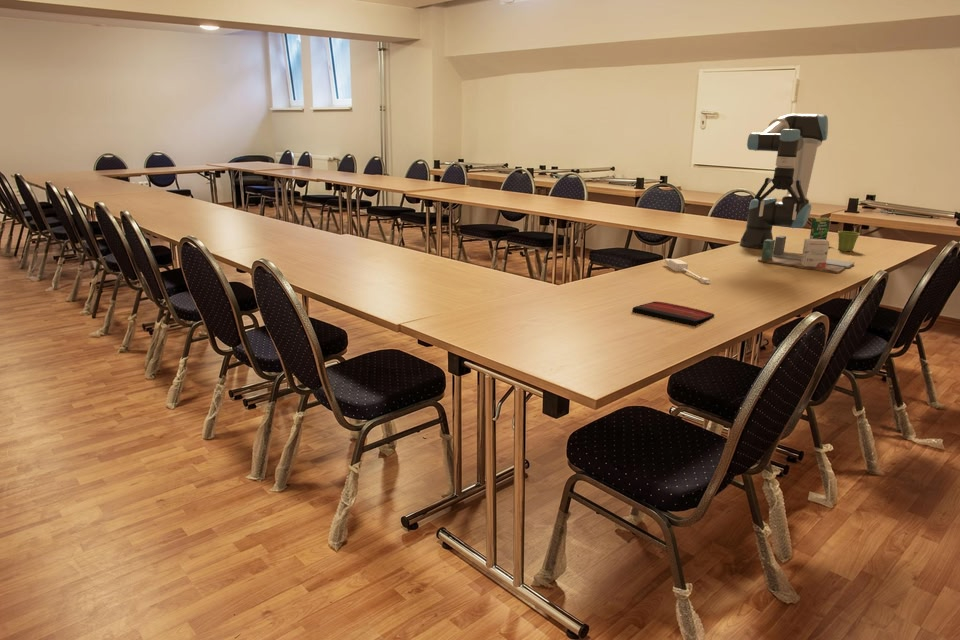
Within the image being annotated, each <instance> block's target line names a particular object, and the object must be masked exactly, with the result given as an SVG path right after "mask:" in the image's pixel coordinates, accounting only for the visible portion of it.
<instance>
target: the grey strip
mask: <svg viewBox="0 0 960 640" xmlns="http://www.w3.org/2000/svg"><path fill="white" fill-rule="evenodd" d="M774 240H775V243H774V249H773V256H772V257H777V258H784V259H791V260H798V261H801V260H802V254H795V253H791V252H790V253H788V252H785V247H786V240H787V236H786V235H777V236H775V239H774ZM826 265H832V266H839V267H845V269H850V268H851V267H852V266H854V265H855V262H851V261H846V260H840V259H839V260H838V259H832V258H827V260H826Z"/></svg>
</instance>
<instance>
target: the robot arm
mask: <svg viewBox="0 0 960 640" xmlns="http://www.w3.org/2000/svg"><path fill="white" fill-rule="evenodd" d="M828 132H829V119H828V116H827V115H826V114H823V113H822V114H821V113H820V114H819V113H788V114H784V115H781V116H779V117H776V118H775V119H773V120H772V121H770V123H769V124H768V125H767V126H766V128H764V129H763V130H761V131H760V132H751V133H750V134H749V135H748V137H747V143H746V145H747V149H748V150H749V151H755V152H757V151H758V152H759V151H761V152H777V154H776V160H775V166H776V167H775V168H774V173H773V178H770V177H766V178H765V179H764V183H763V184H762V185H761V187H760V189H759V190H758V191H757V193H756V195H755V196H754V199H751V200H750V202H749V207H748V213H747V218H746V219H747V220H746V228H745V230H744V233H743V234H742V237H741V239H740V242H739V245H740V246H742V247H746V248H752V249H753V248H754V249H763V245H764V240H767V239H771V240H774V237H773V227H781V228H788V229H789V228H790V229H802V228H804V227H805V226H806V224H807V223H808V220H809V217H810V216H811V215H810V214H811V211H812V204H811V203H810V200H809V199H808V197H807V196H808V192H809V187H810V182H811V177H812V173H813V169H814V164H815V160H816V155H817V150H818V148H819V147H820V146H822V144H823V142H824V141H827V139H828V134H829V133H828ZM770 183H772V184H773V185H772V186H770V188H769V189H767V191H766V192H764V191H765V190H766V188H767V187H768V185H769V184H770ZM775 190H779V191H780V190H782V191H785V190H786V191H787V192H786V194H785V195H784V196H783V197H782V199H781V201H778V200H777V198H776V197H768V196H770V194H771V193H772V192H773V191H775Z"/></svg>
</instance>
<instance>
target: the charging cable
mask: <svg viewBox="0 0 960 640" xmlns="http://www.w3.org/2000/svg"><path fill="white" fill-rule="evenodd" d="M664 264H666V265H667V266H668V268H669V269H671V270H672V271H675V272H686V273H687V274H690V275H692V276H693V277H695V278H697V279H699V282H700V283H701V284H711V283H712V282H711V281H710V279H709V278H707V277H701V276H699V275H698V274H695V273H694V272H692V271H691V270H689V264H688V262H685V261H683V260H681V259H676V258H665V259H664Z"/></svg>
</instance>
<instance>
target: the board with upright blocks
mask: <svg viewBox="0 0 960 640" xmlns="http://www.w3.org/2000/svg"><path fill="white" fill-rule="evenodd" d="M774 245H775V239H773V240H771V239H767V240H764V245H763V248H762V252H761V258H757V262H761V263H767V264H774V265H780V266H787V267H794V268H801V269H807V270H814V271H819V272H825V273H832V274H839V273H841V272H842V271H844V270H845V269H846V268H845V267H839V266H832V265H826V266H825V267H814V266H803V265H802V264H801V261H798V260H791V259H784V258H777V257H772V256H773V252H774Z"/></svg>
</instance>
